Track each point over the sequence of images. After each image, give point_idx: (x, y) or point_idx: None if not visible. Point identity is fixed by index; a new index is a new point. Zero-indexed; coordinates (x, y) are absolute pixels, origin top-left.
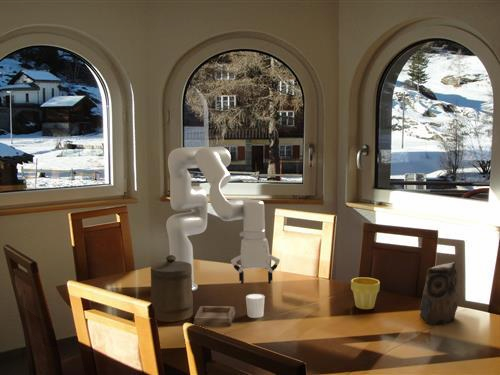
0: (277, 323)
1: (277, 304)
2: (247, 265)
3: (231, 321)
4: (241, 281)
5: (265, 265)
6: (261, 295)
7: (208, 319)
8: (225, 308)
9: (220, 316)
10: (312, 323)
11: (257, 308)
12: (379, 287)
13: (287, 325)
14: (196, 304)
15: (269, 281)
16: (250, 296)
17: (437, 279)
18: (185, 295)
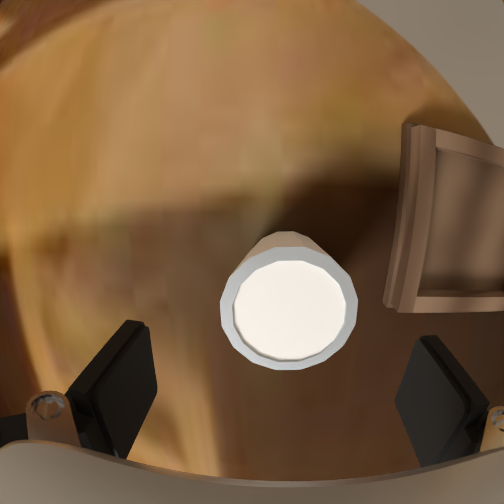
0: (173, 152)
1: (189, 393)
2: (489, 493)
3: (406, 145)
4: (441, 346)
5: (33, 471)
6: (244, 336)
7: (498, 148)
8: (435, 295)
9: (453, 221)
10: (46, 167)
11: (274, 239)
12: None
13: (130, 130)
14: (489, 379)
15: (126, 330)
16: (323, 319)
17: None
18: None
